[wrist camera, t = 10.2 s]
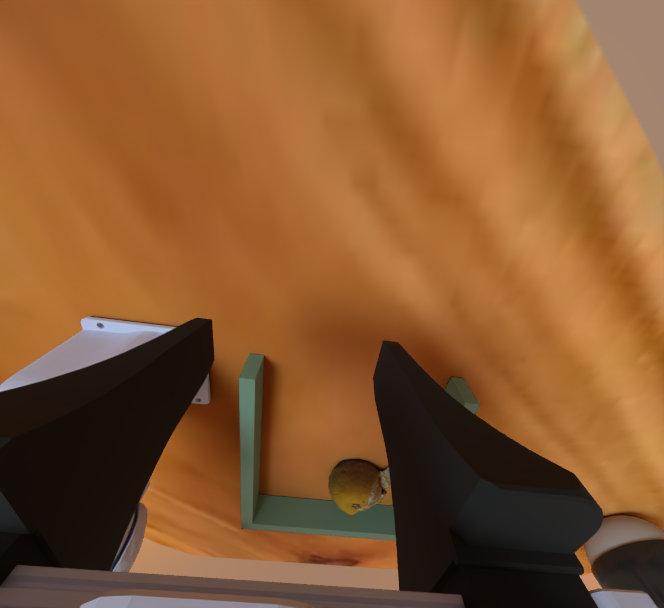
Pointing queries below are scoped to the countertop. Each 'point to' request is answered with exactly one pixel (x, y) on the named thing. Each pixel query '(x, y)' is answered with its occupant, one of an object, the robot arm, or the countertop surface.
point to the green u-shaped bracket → (301, 511)
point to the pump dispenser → (628, 556)
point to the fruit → (357, 485)
